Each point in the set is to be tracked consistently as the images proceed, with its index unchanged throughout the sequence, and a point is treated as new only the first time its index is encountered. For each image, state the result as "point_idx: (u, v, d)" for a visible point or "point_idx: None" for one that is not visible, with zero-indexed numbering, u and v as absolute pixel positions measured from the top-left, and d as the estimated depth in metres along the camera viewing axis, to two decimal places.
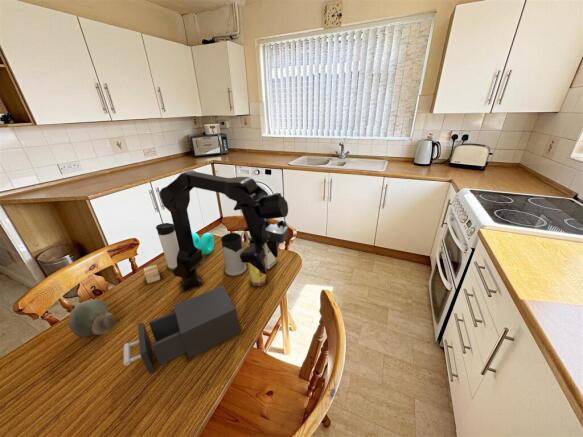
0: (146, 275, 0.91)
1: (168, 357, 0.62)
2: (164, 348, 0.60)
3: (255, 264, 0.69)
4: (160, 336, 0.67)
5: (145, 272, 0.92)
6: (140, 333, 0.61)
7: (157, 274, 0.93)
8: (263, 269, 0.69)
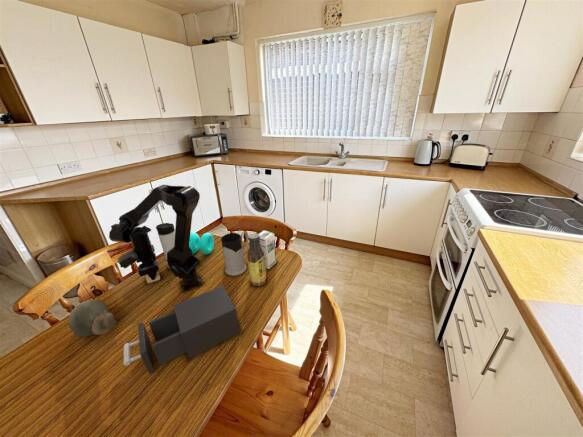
0: (146, 275, 0.91)
1: (168, 357, 0.62)
2: (164, 348, 0.60)
3: None
4: (160, 336, 0.67)
5: None
6: (140, 333, 0.61)
7: (157, 274, 0.93)
8: None
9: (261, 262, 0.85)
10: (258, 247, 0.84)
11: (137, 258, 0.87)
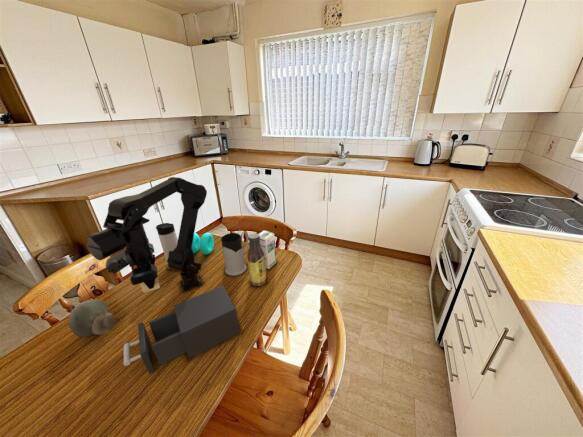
0: (141, 283, 0.71)
1: (168, 357, 0.62)
2: (164, 348, 0.60)
3: None
4: (160, 336, 0.67)
5: None
6: (140, 333, 0.61)
7: (156, 281, 0.74)
8: None
9: (261, 262, 0.85)
10: (258, 247, 0.84)
11: (130, 261, 0.67)
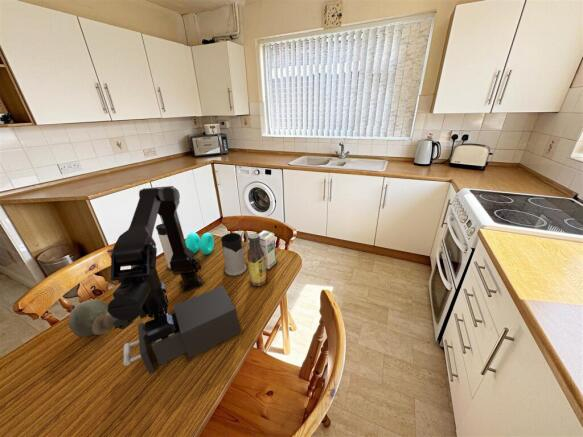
0: None
1: (168, 357, 0.62)
2: (164, 348, 0.60)
3: None
4: None
5: None
6: (140, 333, 0.61)
7: None
8: None
9: (261, 262, 0.85)
10: (258, 247, 0.84)
11: (141, 312, 0.55)
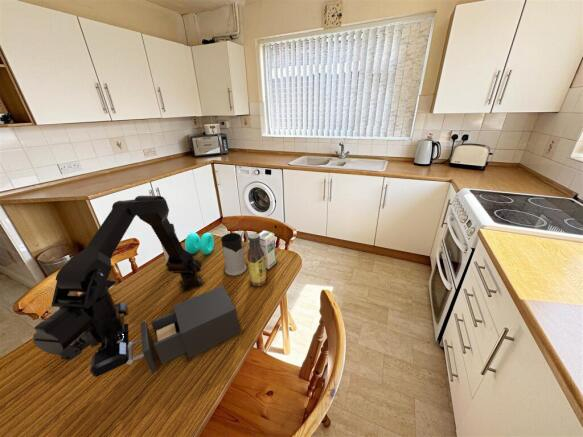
0: None
1: (170, 356, 0.62)
2: (166, 347, 0.60)
3: None
4: None
5: (159, 338, 0.62)
6: (143, 332, 0.62)
7: None
8: None
9: (261, 262, 0.85)
10: (258, 247, 0.84)
11: (92, 340, 0.52)
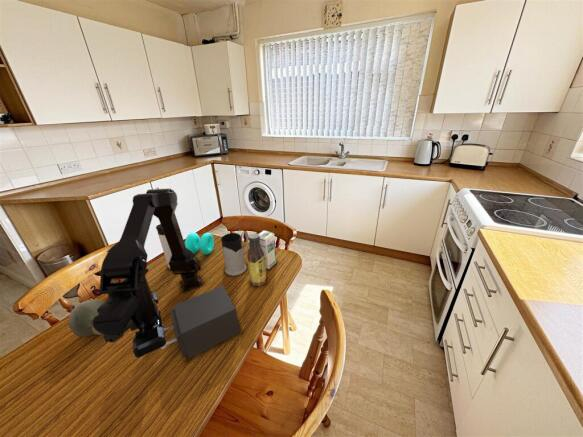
0: None
1: None
2: None
3: None
4: None
5: None
6: (174, 319, 0.65)
7: None
8: None
9: (261, 262, 0.85)
10: (258, 247, 0.84)
11: (132, 324, 0.55)
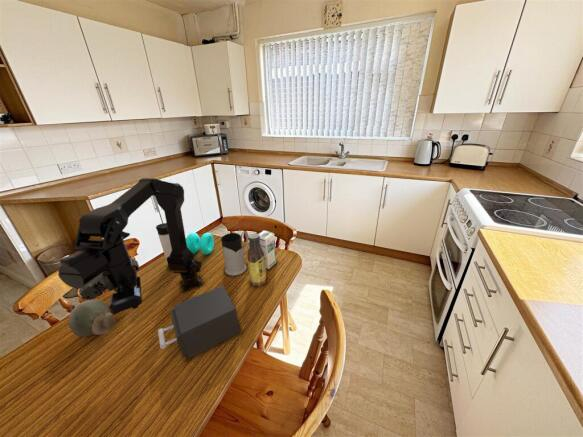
0: None
1: None
2: None
3: None
4: None
5: None
6: (174, 319, 0.65)
7: None
8: None
9: (261, 262, 0.85)
10: (258, 247, 0.84)
11: (109, 284, 0.57)
